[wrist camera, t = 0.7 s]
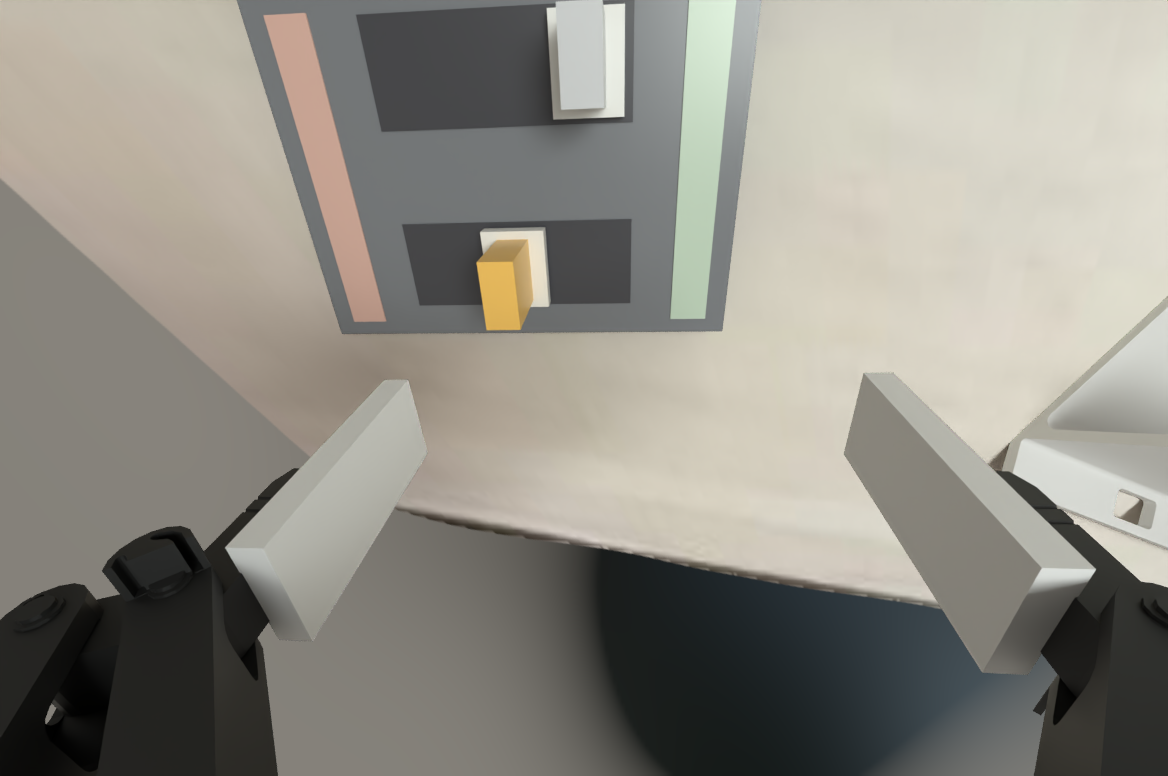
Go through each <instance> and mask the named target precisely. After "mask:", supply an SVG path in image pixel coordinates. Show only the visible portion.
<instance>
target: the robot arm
mask: <svg viewBox="0 0 1168 776" xmlns="http://www.w3.org/2000/svg"><path fill="white" fill-rule="evenodd" d="M427 454H428V452H427V448H426V444H425V440H424V437H423V433H422V429H421V425H420V422H419V418H418V414H417V411H416V407H415V403H414V399H413V396H412V392H411V388H410V384H409V381H408V380H384V381H383V382H382V383H381V384H380V385H379V386H378V387H377V388H376V389H375V390H374V391H373V392H372V393H371V394H370V395H369V397H368V398H367V399H366V400H365V401H364V402H363V403H362V404H361V405H360V406H359V407H358V408H357V409H356V410H355V411H354V412H353V413H352V414H351V415H350V417H349V418H348V419H347V420H346V421H345V422H344V423H343V424H342V425H341V426H340V427H339V428H338V429H337V430H336V431H335V432H334V433H333V434H332V435H331V437H330V438H329V439H328V440H327V441H326V442H325V443H324V444H323V445H322V446H321V447H320V448H319V449H318V450H317V451H316V452H315V453H314V454H313V455H312V457H311V458H310V459H309V460H308V461H307V462H306V463H305V464H304V465H303V466H302V467H301V468H300V469H296V468H294V469H292V470H291V471H289V472H287V473H286V474H284V475H283V476H281V477H280V478H278V479H276V480H275V481H273V482H272V483H271V484H270V485H269V486H268V487H267V488H266V489H265V490H264V491H263V492H262V493H261V494H260V495H259V496H258V500H254V501H253V502H252V503H251V504H250V506H248V507H247V509H246V512H245V513H244V512H243V513H242V514H240V515H239V517H238V518H237V519H236V520H235V521H234V522H233V523H232V524H231V525H230V526H229V527H228V528H227V529H226V530H225V531H224V532H223V533H222V534H221V535H220V536H219V537H218V538H217V539H216V540H215V541H214V542H213V543H212V544H211V545H210V546H209V547H208V548H207V549H206V550H205V551H203V550H202V548H201V546H200V545H199V543H198V542H197V540H196V538H195V537H194V535H193V533H192V532H191V530H190V529H188V528H185V527H182V526H177V527H166V528H163V529H159V530H156V531H152V532H150V533H148V534H146V535H144V536H141V537H139V538H137V539H135V540H133V541H132V542H130V543H129V544H127V545H126V546H124V547H123V548H121V549H119V551H118V552H116V553H115V554H114V555H113V556H112V557H111V558H110V559H109V560H108V561H107V563H106V565H105V566H104V568H103V570H102V572H103V573H104V574H105V575H106V577H107V578H108V579H109V580H110V582H111V583H112V584H113V585H114V587H115V588H116V589H117V591H118V592H119V593H120V595H116V596H111V597H107V598H102V599H98V600H96V599H95V598H94V596H93V595H92V594H91V593H90V591H89V590H88V589H87V588H86V587H85V585H80V584H75V583H74V584H68V585H62V586H58V587H55V588H52V589H50V590H47V591H44V592H41V593H39V594H37V595H35V596H34V597H32V598H29V599H27V600H26V601H24V602H22V603H21V604H20V605H19V606H17V607H16V608H14V609H13V610H12V611H10V612H9V613H8V614H6V615H5V616H4V617H3V618H2V619H1V620H0V776H278V772H277V763H276V755H275V746H274V738H273V730H272V721H271V713H270V704H269V696H268V687H267V679H266V671H265V662H264V654H263V648H262V646H261V644H260V642H259V640H258V636H259V635H260V633H261V632H262V631H263V629H264V628H265V626H266V625H267V624H268V622H269V624H270V625H271V627H272V629H273V630H274V632H275V634H276V636H277V637H278V639H279V640H291V641H312V642H313V640H314V638H315V637H316V635H317V634H318V632H319V630H320V629H321V627H322V625H323V624H324V622H325V620H326V619H327V617H328V616H329V614H330V612H331V611H332V609H333V607H334V606H335V604H336V602H337V601H338V599H339V598H340V596H341V594H342V593H343V591H344V589H345V588H346V586H347V584H348V583H349V581H350V579H351V578H352V576H353V575H354V573H355V571H356V570H357V568H358V566H359V565H360V563H361V561H362V560H363V558H364V557H365V555H366V553H367V552H368V550H369V548H370V547H371V545H372V543H373V542H374V540H375V538H376V537H377V535H378V534H379V532H380V530H381V529H382V527H383V525H384V524H385V522H386V521H387V519H388V517H389V516H390V514H391V512H392V511H393V509H394V508H395V506H396V504H397V503H398V501H399V499H400V498H401V496H402V495H403V493H404V491H405V490H406V488H407V486H408V485H409V483H410V481H411V480H412V478H413V477H414V475H415V473H416V472H417V470H418V468H419V467H420V465H421V463H422V462H423V460H424V459H425V457H426V455H427ZM844 455H845V457H846V458H847V460H848V461H849V463H850V464H851V466H852V468H853V469H854V471H855V472H856V474H857V475H858V477H859V479H860V480H861V482H862V483H863V485H864V487H865V488H866V490H867V491H868V493H869V494H870V496H871V498H872V499H873V501H874V502H875V504H876V505H877V507H878V509H879V510H880V512H881V513H882V515H883V516H884V518H885V520H886V521H887V523H888V524H889V526H890V528H891V529H892V531H893V532H894V534H895V535H896V537H897V539H898V540H899V542H900V543H901V545H902V546H903V548H904V550H905V551H906V553H907V554H908V556H909V558H910V559H911V561H912V562H913V564H914V565H915V567H916V569H917V570H918V572H919V573H920V575H921V576H922V578H923V580H924V581H925V583H926V584H927V586H928V588H929V589H930V591H931V592H932V594H933V595H934V597H935V599H936V600H937V602H938V603H939V605H940V606H941V608H942V610H943V611H944V613H945V614H946V616H947V617H948V619H949V621H950V622H951V624H952V625H953V627H954V629H955V630H956V632H957V633H958V635H959V636H960V638H961V640H962V641H963V643H964V644H965V646H966V647H967V649H968V651H969V652H970V654H971V655H972V657H973V659H974V660H975V662H976V663H977V665H978V666H979V668H980V669H981V671H982V672H983V673H1002V674H1023V675H1024V674H1025V675H1028V674H1029V672H1030V671H1031V669H1032V668H1033V666H1034V665H1035V663H1036V662H1037V660H1038V659H1039V657H1040V655H1041V654H1043V656H1044V657H1045V658H1046V659H1047V661H1048V662H1049V664H1050V665H1051V666H1052V668H1053V669H1054V670H1055V671H1056V673H1057V674H1058V675H1057V676H1056V678H1055V679H1054V681H1053V682H1052V684H1051V685H1050V686H1049V688H1048V689H1047V691H1046V692H1045V694H1044V695H1043V696H1042V698H1041V699H1040V701H1039V702H1038V704H1037V705H1036V707H1035V708H1034V710H1033V711H1034V712H1036V713H1038V714H1040V715H1041V714H1042V713H1043V712H1044V711H1045V709H1046V711H1045V716H1044V722H1043V728H1042V733H1041V739H1040V744H1039V750H1038V756H1037V762H1036V767H1035V772H1034V776H1168V588H1167V587H1164V586H1161V585H1157V584H1154V583H1147V582H1141V581H1140V580H1138V579H1137V578H1136V577H1135V576H1134V575H1133V574H1132V573H1131V572H1130V571H1129V570H1127V569H1126V568H1125V567H1124V566H1123V565H1122V564H1121V563H1120V562H1119V561H1118V560H1116V559H1115V558H1114V557H1113V556H1112V555H1111V554H1110V553H1109V552H1108V551H1107V550H1105V549H1104V548H1103V547H1102V546H1101V545H1100V544H1099V543H1098V542H1097V541H1096V540H1094V539H1093V538H1092V537H1091V536H1090V535H1089V534H1088V533H1087V532H1086V531H1085V530H1083V529H1082V528H1081V527H1080V526H1079V525H1075V524H1074V521H1073V520H1072V519H1071V518H1070V517H1069V516H1068V515H1067V514H1066V513H1065V512H1064V511H1062V510H1061V509H1057V505H1056V504H1055V503H1054V502H1053V501H1051V500H1050V499H1049V498H1048V497H1047V496H1046V495H1045V494H1044V493H1043V492H1042V491H1040V490H1039V489H1038V488H1037V487H1036V486H1034V485H1032V484H1030V483H1029V482H1027V481H1025V480H1023V479H1022V478H1020V477H1018V476H1016V475H1015V474H1013V473H1011V472H1009V471H994V470H993V469H992V468H991V467H990V466H989V465H988V464H987V463H986V462H985V461H984V460H983V459H982V458H981V457H980V456H979V455H978V454H977V453H976V452H975V451H974V450H973V449H972V448H970V447H969V446H968V445H967V444H966V443H965V442H964V441H963V440H962V439H961V438H960V437H959V436H958V435H957V434H956V433H955V432H954V431H953V430H952V429H951V428H950V427H949V426H948V425H947V424H946V423H945V422H944V421H943V420H942V419H941V418H940V417H938V416H937V415H936V414H935V413H934V412H933V411H932V410H931V409H930V408H929V407H928V406H927V405H926V404H925V403H924V402H923V401H922V400H921V399H920V398H919V397H918V396H917V395H916V394H915V393H914V392H913V391H912V390H911V389H910V388H909V387H908V386H907V385H905V384H904V383H903V382H902V381H901V380H900V379H899V378H898V377H897V376H896V375H895V374H894V373H864V374H863V378H862V382H861V386H860V390H859V394H858V398H857V402H856V406H855V410H854V414H853V419H852V423H851V427H850V431H849V435H848V439H847V443H846V447H845V451H844ZM51 703H52V704H53V705H54V706H55V707H56V710H55V712H54V714H53V716H52V718H51V719H50V721H49V722H48V723H47V724H45V718H46V715H47V712H48V710H49V707H50V705H51Z"/></svg>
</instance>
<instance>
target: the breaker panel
mask: <svg viewBox="0 0 1168 776" xmlns="http://www.w3.org/2000/svg"><path fill="white" fill-rule="evenodd" d="M237 3H238V6H239V9H240V12H241V15H242V18H243V22H244V25H245V28H246V31H247V34H248V37H249V41H250V44H251V47H252V50H253V53H254V56H255V60H256V63H257V66H258V69H259V72H260V75H261V79H262V82H263V85H264V88H265V91H266V94H267V98H268V101H269V104H270V107H271V110H272V114H273V117H274V120H275V123H276V126H277V129H278V133H279V136H280V139H281V142H282V145H283V148H284V152H285V155H286V158H287V161H288V164H289V167H290V171H291V174H292V177H293V180H294V183H295V186H296V190H297V193H298V196H299V199H300V202H301V205H302V209H303V212H304V215H305V218H306V221H307V224H308V228H309V231H310V234H311V237H312V240H313V243H314V247H315V250H316V253H317V256H318V259H319V263H320V266H321V269H322V272H323V275H324V278H325V282H326V285H327V288H328V291H329V294H330V297H331V301H332V304H333V307H334V310H335V313H336V316H337V320H338V323H339V326H340V329H341V332H342V334H394V333H537V332H681V331H722V329H723V320H724V312H725V303H726V295H727V287H728V278H729V270H730V261H731V253H732V245H733V236H734V228H735V219H736V211H737V202H738V194H739V186H740V177H741V169H742V160H743V152H744V144H745V135H746V127H747V118H748V110H749V101H750V93H751V85H752V76H753V68H754V59H755V51H756V43H757V34H758V26H759V17H760V9H761V0H237ZM529 227H545V231H546V244H547V258H548V271H549V285H550V298H551V302H550V305H549V307H530V309H529V312H528V314H527V316H526V318H525V321H524V323H523V325H522V328H521V330H487V329H486V323H485V316H484V309H483V302H482V296H481V289H480V282H479V276H478V269H477V261H478V260H479V259H480V258H481V257H482V256H483V250H482V243H481V236H480V232H481V231H482V230H483V229H485V228H529Z"/></svg>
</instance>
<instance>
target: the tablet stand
mask: <svg viewBox="0 0 1168 776" xmlns="http://www.w3.org/2000/svg"><path fill="white" fill-rule="evenodd" d="M1002 471H1009V472H1011V473H1013V474H1015V475H1016V476H1018V477H1020V478H1022V479H1023V480H1025V481H1027V482H1029V483H1030V484H1032V485H1034V486H1036V487H1037V488H1038V489H1039V490H1040V491H1042V492H1043V493H1044V494H1045V495H1046V496H1047V497H1048V498H1049V499H1050V500H1051V501H1053V502H1054V503H1055V504H1056V505H1057V508H1060V509H1062V510H1065V511H1067V512H1070V513H1073V514H1075V515H1078V516H1080V517H1083V518H1086V519H1088V520H1091V521H1094V522H1096V523H1099V524H1101V525H1104V526H1107V527H1109V528H1112V529H1114V530H1117V531H1120V532H1122V533H1125V534H1128V535H1130V536H1133V537H1135V538H1138V539H1141V540H1143V541H1146V542H1149V543H1151V544H1154V545H1156V546H1159V547H1162V548H1164V549H1167V550H1168V296H1167V297H1166V298H1165V299H1164V300H1163V301H1162V302H1161V303H1160V304H1159V305H1158V306H1157V307H1156V308H1154V309H1153V310H1152V311H1151V312H1150V313H1149V314H1148V315H1147V316H1146V317H1145V318H1144V319H1143V320H1142V321H1140V322H1139V323H1138V324H1137V325H1136V326H1135V327H1134V328H1133V329H1132V330H1131V331H1130V332H1129V333H1128V334H1126V335H1125V336H1124V337H1123V338H1122V339H1121V340H1120V341H1119V342H1118V343H1117V344H1116V345H1115V346H1113V347H1112V348H1111V349H1110V350H1109V351H1108V352H1107V353H1106V354H1105V355H1104V356H1103V357H1102V358H1101V359H1099V360H1098V361H1097V362H1096V363H1095V364H1094V365H1093V366H1092V367H1091V368H1090V369H1089V370H1088V371H1086V372H1085V373H1084V374H1083V375H1082V376H1081V377H1080V378H1079V379H1078V380H1077V381H1076V382H1075V383H1074V384H1072V385H1071V386H1070V387H1069V388H1068V389H1067V390H1066V391H1065V392H1064V393H1063V394H1062V395H1061V396H1059V397H1058V398H1057V399H1056V400H1055V401H1054V402H1053V403H1052V404H1051V405H1050V406H1049V407H1048V408H1047V409H1045V410H1044V411H1043V412H1042V413H1041V414H1040V415H1039V416H1038V417H1037V418H1036V419H1035V420H1034V421H1032V422H1031V423H1030V424H1029V425H1028V426H1027V427H1026V428H1025V429H1024V430H1023V431H1022V432H1021V433H1020V434H1018V435H1017V436H1016V437H1015V438H1014V439H1013V440H1012V441H1011V442H1010V444H1009V448H1008V451H1007V454H1006V458H1005V461H1004V465H1003V468H1002ZM1118 491H1122V492H1124V493H1127V494H1129V495H1132V496H1134V497H1137V498H1139V499H1142V500H1143V508H1142V511H1141V515H1140V519H1139V522H1138V525H1135V524H1132V523H1130V522H1127V521H1125V520H1122V519H1120V518H1117V517H1115V516H1114V513H1113V512H1114V508H1115V503H1116V499H1117V495H1118Z"/></svg>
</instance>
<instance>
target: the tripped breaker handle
mask: <svg viewBox="0 0 1168 776" xmlns="http://www.w3.org/2000/svg"><path fill="white" fill-rule="evenodd" d="M480 236H481V243H482V250H483V256H482V257H481V258H480V259H479V260H478V261H477V269H478V276H479V282H480V289H481V296H482V302H483V309H484V316H485V323H486V329H487V330H521V328H522V325H523V323H524V321H525V318H526V316H527V314H528V312H529V309H530V307H549V305H550V302H551V298H550V285H549V271H548V258H547V244H546V231H545V227H529V228H485V229H483V230H482V231H481V232H480Z"/></svg>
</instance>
